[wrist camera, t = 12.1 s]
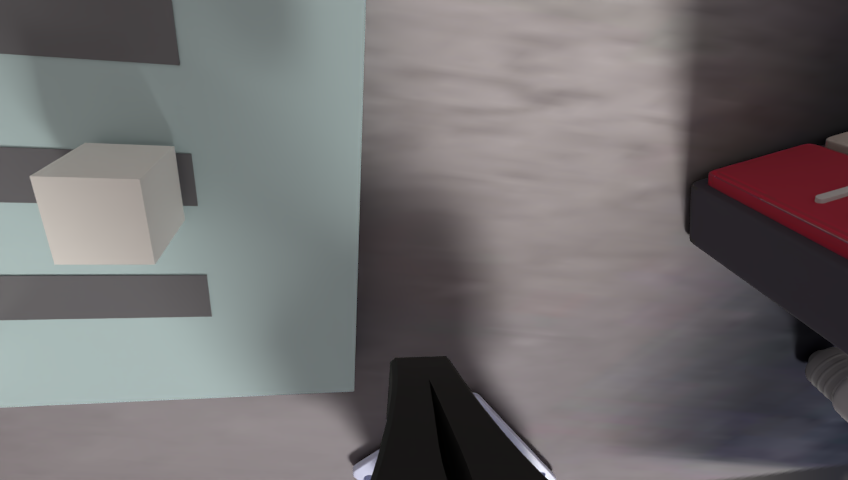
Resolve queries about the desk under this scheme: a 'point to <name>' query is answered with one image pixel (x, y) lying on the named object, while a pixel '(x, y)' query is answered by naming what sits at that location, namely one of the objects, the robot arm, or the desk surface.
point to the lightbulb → (830, 376)
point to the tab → (110, 204)
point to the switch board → (187, 198)
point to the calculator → (783, 229)
